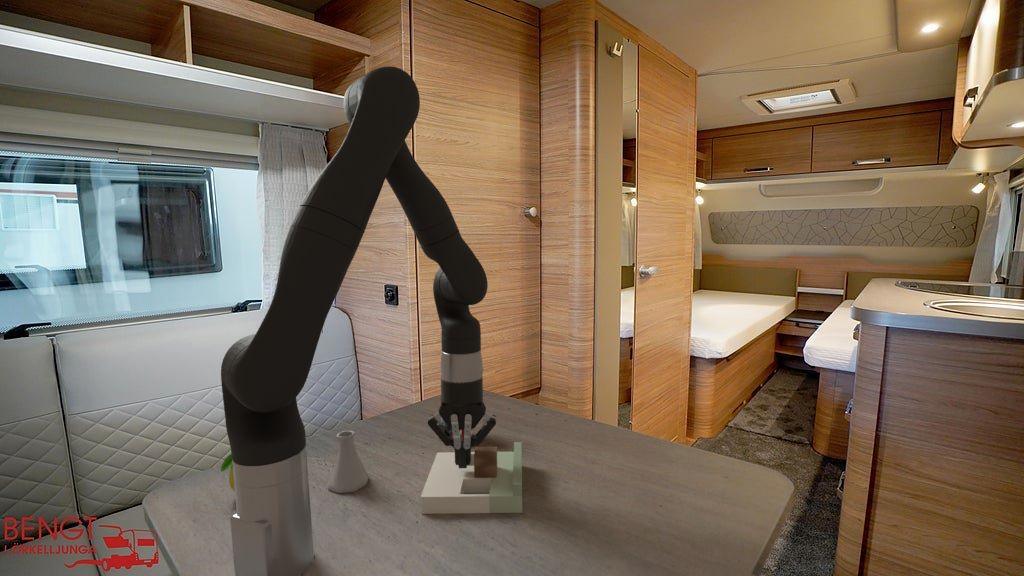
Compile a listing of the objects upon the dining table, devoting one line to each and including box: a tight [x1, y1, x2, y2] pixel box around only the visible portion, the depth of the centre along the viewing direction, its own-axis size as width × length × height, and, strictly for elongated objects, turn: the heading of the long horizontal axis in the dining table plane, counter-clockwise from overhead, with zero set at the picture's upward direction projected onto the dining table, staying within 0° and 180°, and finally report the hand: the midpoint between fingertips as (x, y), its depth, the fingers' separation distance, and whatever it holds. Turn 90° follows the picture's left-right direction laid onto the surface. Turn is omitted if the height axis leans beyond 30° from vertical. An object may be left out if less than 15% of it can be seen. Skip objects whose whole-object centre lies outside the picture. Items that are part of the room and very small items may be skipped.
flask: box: [327, 430, 370, 494], centre depth 91 cm, size 7×7×10 cm
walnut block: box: [474, 446, 498, 478], centre depth 88 cm, size 4×4×4 cm
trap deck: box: [420, 441, 523, 515], centre depth 89 cm, size 17×16×5 cm
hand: (463, 466), depth 89 cm, fingers closed
